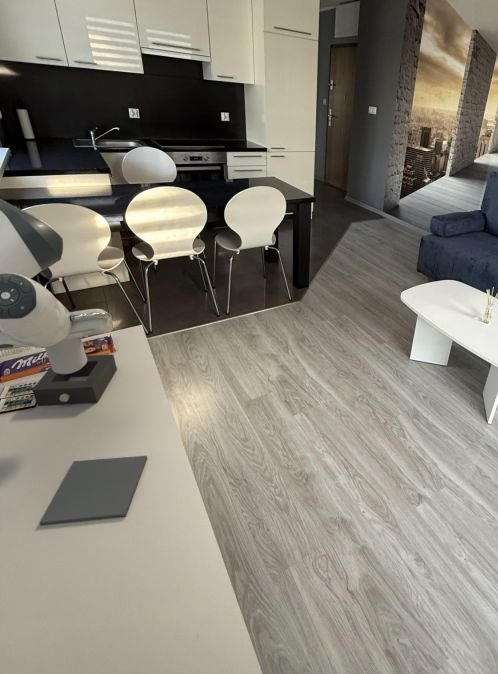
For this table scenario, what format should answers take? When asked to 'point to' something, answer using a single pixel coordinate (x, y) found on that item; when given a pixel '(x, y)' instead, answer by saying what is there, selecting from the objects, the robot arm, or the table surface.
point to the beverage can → (67, 356)
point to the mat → (95, 490)
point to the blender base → (76, 383)
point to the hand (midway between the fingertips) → (62, 338)
